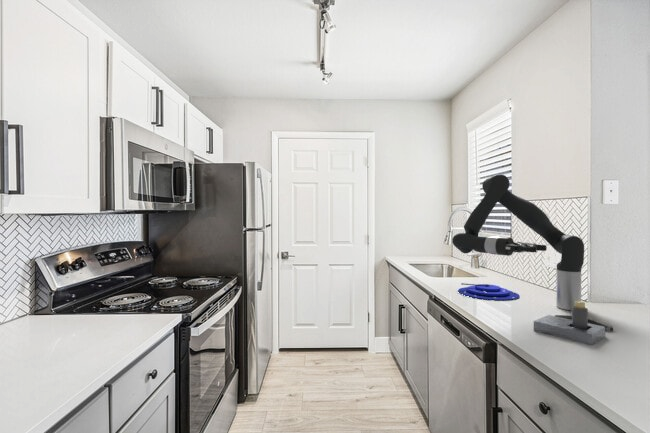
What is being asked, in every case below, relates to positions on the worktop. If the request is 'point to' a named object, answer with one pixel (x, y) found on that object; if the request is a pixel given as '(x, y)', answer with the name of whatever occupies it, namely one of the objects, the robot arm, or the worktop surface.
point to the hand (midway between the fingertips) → (541, 248)
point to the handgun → (591, 321)
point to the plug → (580, 315)
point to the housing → (569, 329)
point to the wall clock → (488, 292)
